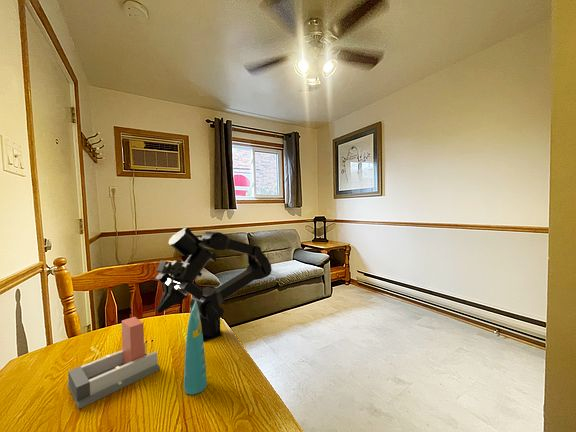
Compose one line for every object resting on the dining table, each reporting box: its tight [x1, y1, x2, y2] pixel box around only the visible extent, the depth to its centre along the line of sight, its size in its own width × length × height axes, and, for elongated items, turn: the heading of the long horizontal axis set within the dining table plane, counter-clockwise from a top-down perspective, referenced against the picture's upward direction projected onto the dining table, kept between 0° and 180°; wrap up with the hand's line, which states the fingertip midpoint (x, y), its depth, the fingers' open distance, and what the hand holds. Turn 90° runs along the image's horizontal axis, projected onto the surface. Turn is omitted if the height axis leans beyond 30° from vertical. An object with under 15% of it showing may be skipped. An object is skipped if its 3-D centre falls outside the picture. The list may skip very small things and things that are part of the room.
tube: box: [183, 300, 208, 396], centre depth 56 cm, size 7×5×19 cm, turn 20°
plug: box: [121, 316, 145, 364], centre depth 63 cm, size 3×6×11 cm, turn 50°
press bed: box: [67, 341, 160, 410], centre depth 60 cm, size 16×11×4 cm
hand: (157, 312), depth 68 cm, fingers closed
